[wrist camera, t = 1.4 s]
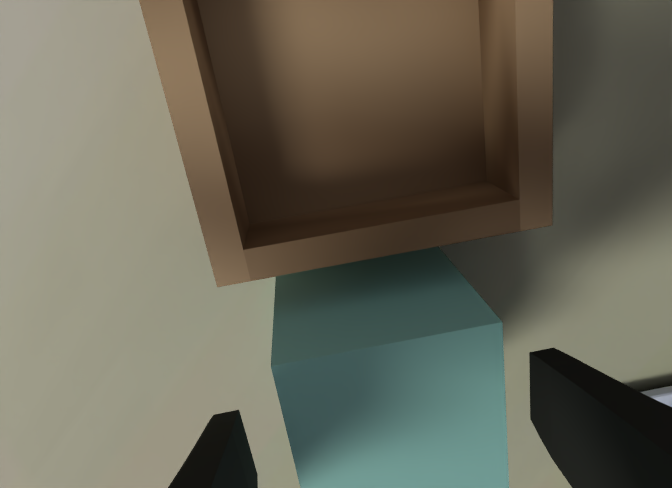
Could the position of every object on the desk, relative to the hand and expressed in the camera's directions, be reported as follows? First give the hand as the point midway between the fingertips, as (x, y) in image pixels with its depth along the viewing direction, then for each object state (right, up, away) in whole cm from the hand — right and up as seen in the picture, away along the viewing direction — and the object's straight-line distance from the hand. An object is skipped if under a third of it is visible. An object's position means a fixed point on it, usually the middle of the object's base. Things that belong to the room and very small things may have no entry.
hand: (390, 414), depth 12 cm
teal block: (0, +1, +4) cm, 4 cm away
